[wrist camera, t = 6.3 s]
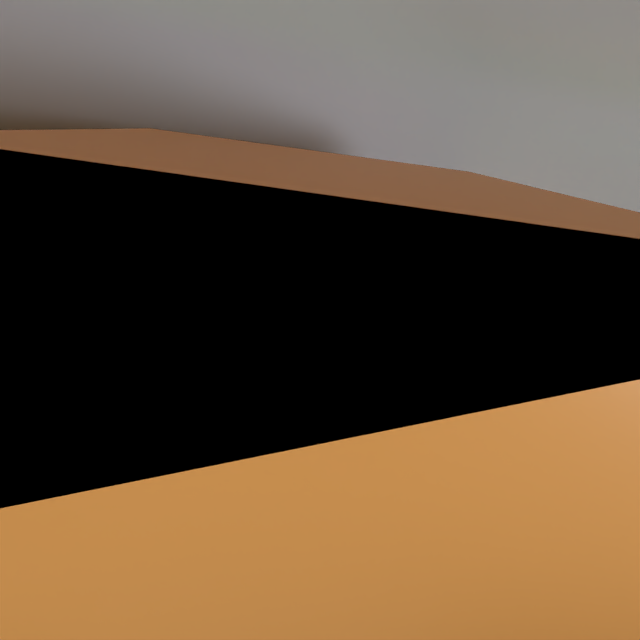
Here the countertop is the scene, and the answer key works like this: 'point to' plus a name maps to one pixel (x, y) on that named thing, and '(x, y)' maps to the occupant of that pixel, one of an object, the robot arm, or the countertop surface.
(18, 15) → the countertop surface
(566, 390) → the plug
